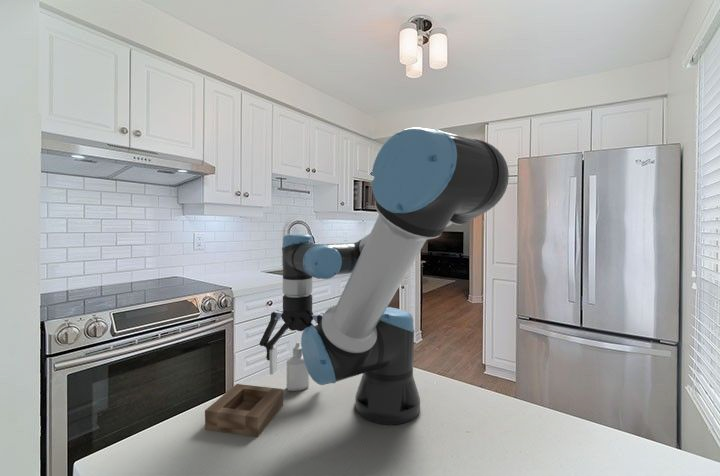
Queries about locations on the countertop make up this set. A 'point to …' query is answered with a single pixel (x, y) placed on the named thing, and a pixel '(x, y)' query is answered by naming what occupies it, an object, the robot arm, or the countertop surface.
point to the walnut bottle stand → (244, 410)
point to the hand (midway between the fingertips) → (297, 375)
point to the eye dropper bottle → (297, 371)
